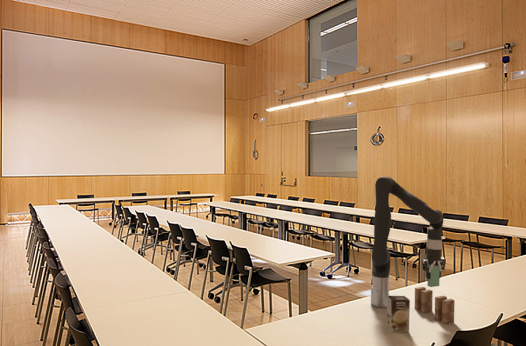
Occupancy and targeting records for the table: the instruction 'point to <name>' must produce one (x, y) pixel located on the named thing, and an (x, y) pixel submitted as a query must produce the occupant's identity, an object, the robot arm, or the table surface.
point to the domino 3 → (434, 276)
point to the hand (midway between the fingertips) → (433, 278)
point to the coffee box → (398, 313)
